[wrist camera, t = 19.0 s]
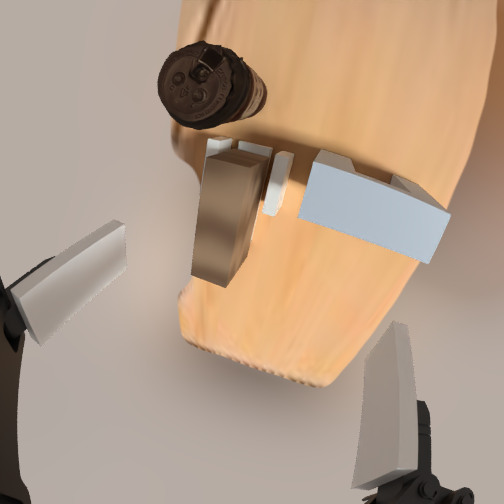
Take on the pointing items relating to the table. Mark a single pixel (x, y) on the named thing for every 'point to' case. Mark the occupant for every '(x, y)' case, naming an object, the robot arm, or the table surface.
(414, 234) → the bore block
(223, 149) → the cradle
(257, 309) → the table surface
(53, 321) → the robot arm
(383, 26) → the table surface
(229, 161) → the walnut bar
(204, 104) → the coffee cup
